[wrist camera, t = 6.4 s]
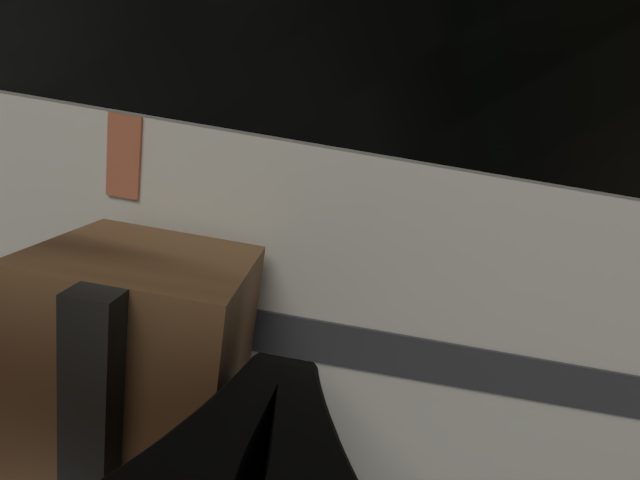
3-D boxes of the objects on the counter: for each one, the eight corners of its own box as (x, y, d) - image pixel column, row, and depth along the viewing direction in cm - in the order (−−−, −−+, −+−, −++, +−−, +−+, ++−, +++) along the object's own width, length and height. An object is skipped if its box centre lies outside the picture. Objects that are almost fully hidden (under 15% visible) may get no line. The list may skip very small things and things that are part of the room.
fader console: (731, 529, 14) (780, 579, 12) (-96, 381, 14) (-149, 412, 13) (889, 240, 11) (975, 259, 10) (-132, 67, 12) (-205, 58, 10)
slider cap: (242, 419, 11) (188, 574, 8) (98, 394, 12) (-30, 533, 8) (265, 246, 10) (214, 323, 6) (103, 218, 10) (-50, 276, 6)
